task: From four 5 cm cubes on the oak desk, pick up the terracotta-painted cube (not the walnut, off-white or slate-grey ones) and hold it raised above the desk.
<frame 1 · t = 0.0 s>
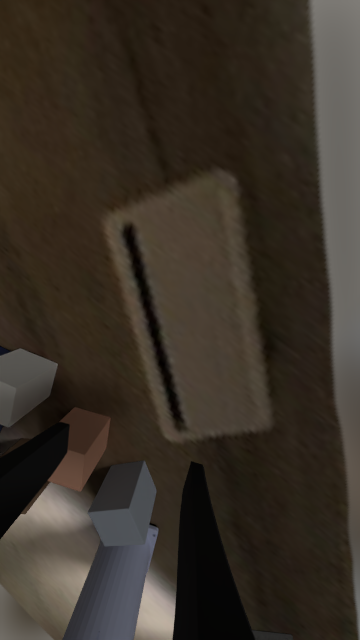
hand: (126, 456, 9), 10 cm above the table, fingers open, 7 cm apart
terracotta cube: (91, 427, 22), on the table
offwhite cube: (35, 372, 21), on the table, touching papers
slate cube: (134, 477, 23), on the table
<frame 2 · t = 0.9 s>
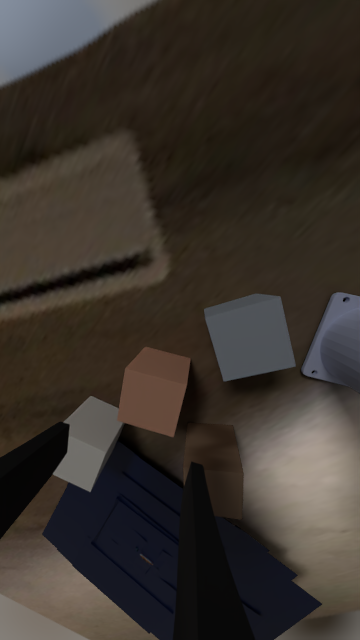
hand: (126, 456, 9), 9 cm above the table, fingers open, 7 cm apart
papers: (159, 530, 24), on the table
walnut cube: (209, 442, 19), on the table
terracotta cube: (163, 372, 18), on the table
offwhite cube: (103, 420, 20), on the table
slate cube: (235, 325, 16), on the table
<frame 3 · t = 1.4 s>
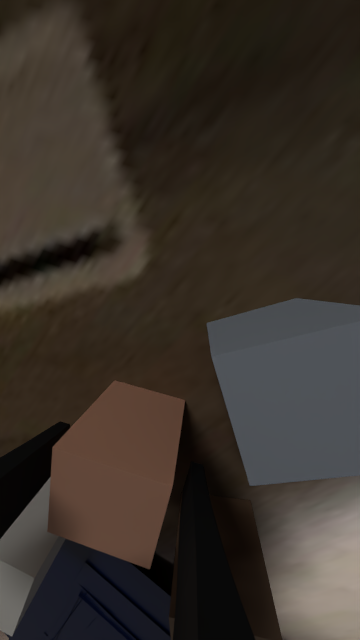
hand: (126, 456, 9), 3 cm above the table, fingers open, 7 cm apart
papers: (144, 623, 17), on the table
walnut cube: (214, 520, 13), on the table
terracotta cube: (143, 419, 12), on the table
offwhite cube: (58, 484, 14), on the table
slate cube: (259, 351, 10), on the table
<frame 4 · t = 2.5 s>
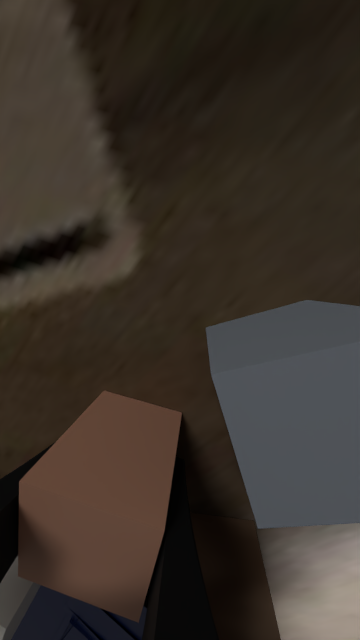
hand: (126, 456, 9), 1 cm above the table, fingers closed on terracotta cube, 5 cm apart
walnut cube: (215, 541, 12), on the table
terracotta cube: (135, 434, 11), on the table, touching gripper
offwhite cube: (46, 502, 13), on the table, touching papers
slate cube: (264, 358, 9), on the table
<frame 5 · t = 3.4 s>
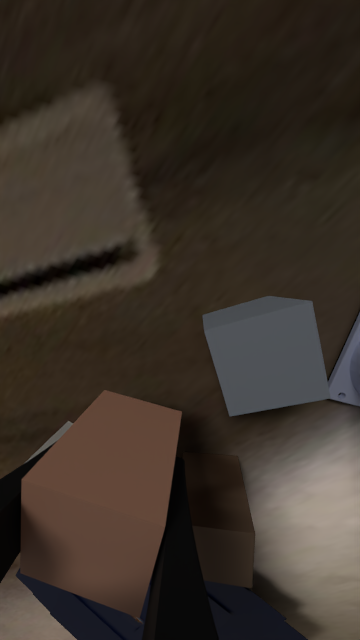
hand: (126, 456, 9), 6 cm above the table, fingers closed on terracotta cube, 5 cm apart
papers: (152, 575, 20), on the table, touching offwhite cube
walnut cube: (209, 474, 16), on the table
terracotta cube: (136, 433, 11), point 4 cm above the table, touching gripper
slate cube: (242, 335, 13), on the table
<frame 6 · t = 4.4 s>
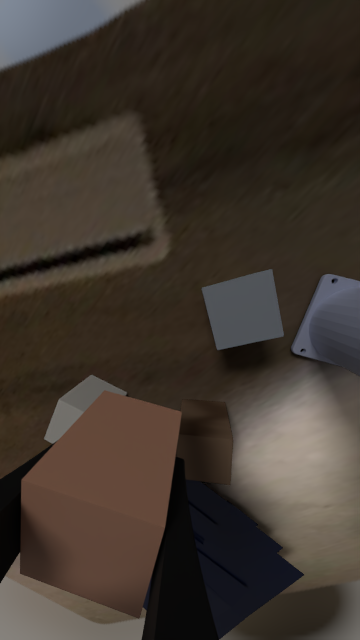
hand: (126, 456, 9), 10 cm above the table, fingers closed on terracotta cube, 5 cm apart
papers: (153, 508, 25), on the table
walnut cube: (202, 418, 20), on the table
terracotta cube: (136, 433, 11), point 9 cm above the table, touching gripper
offwhite cube: (102, 399, 21), on the table
slate cube: (230, 305, 17), on the table
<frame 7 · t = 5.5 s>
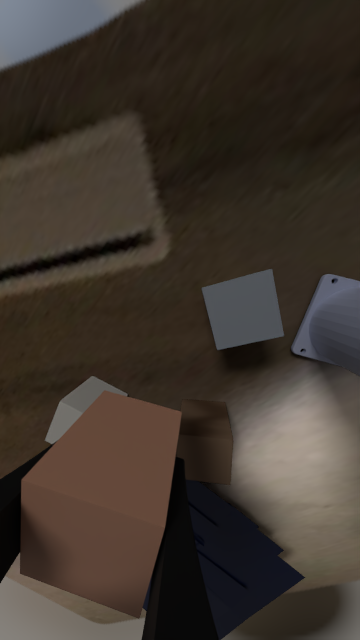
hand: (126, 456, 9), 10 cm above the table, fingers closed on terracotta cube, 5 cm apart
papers: (153, 509, 25), on the table
walnut cube: (202, 418, 20), on the table
terracotta cube: (136, 433, 11), point 9 cm above the table, touching gripper
offwhite cube: (103, 400, 21), on the table
slate cube: (230, 305, 17), on the table
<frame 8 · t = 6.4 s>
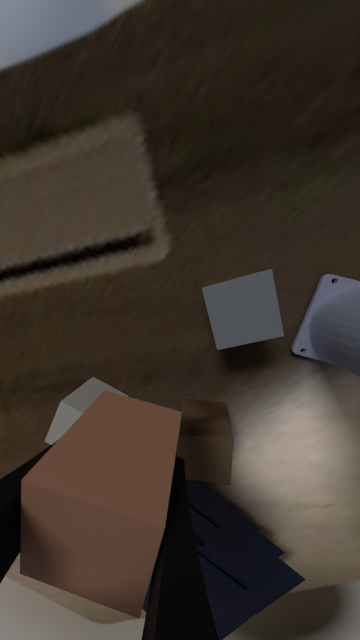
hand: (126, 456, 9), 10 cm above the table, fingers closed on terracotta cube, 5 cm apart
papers: (153, 511, 25), on the table
walnut cube: (202, 418, 20), on the table
terracotta cube: (136, 433, 11), point 9 cm above the table, touching gripper
offwhite cube: (103, 402, 21), on the table
slate cube: (230, 305, 17), on the table
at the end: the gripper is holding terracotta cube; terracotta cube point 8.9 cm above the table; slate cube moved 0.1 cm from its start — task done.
